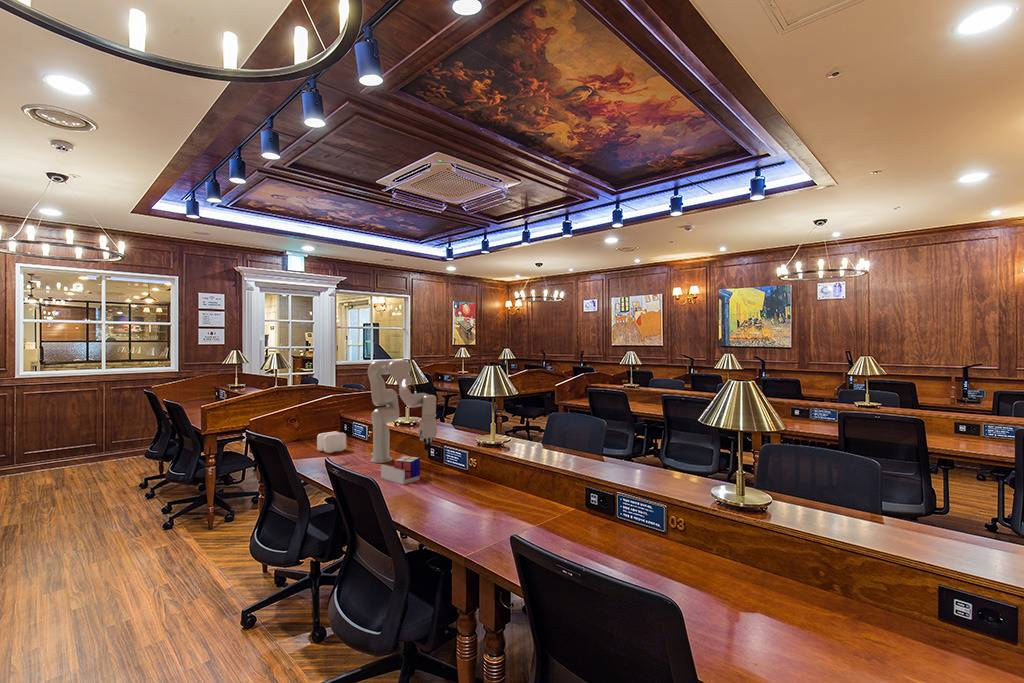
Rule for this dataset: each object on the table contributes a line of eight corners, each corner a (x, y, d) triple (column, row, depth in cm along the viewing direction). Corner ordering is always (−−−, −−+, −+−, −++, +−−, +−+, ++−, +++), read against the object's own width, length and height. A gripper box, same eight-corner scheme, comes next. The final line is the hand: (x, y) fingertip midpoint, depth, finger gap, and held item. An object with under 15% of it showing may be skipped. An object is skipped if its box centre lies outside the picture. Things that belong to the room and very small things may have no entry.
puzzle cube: (411, 481, 239) (411, 462, 239) (393, 479, 242) (393, 460, 242) (420, 476, 249) (420, 457, 249) (403, 474, 252) (403, 455, 252)
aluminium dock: (381, 477, 245) (381, 464, 245) (398, 473, 254) (398, 460, 254) (402, 484, 234) (402, 470, 234) (419, 479, 242) (419, 466, 242)
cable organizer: (323, 454, 294) (324, 436, 294) (316, 451, 301) (316, 433, 301) (346, 450, 305) (346, 432, 305) (338, 447, 312) (338, 430, 312)
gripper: (434, 414, 267) (432, 446, 268) (413, 417, 255) (412, 450, 256) (443, 416, 262) (441, 448, 263) (422, 420, 251) (421, 453, 251)
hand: (427, 449), depth 260 cm, fingers closed
